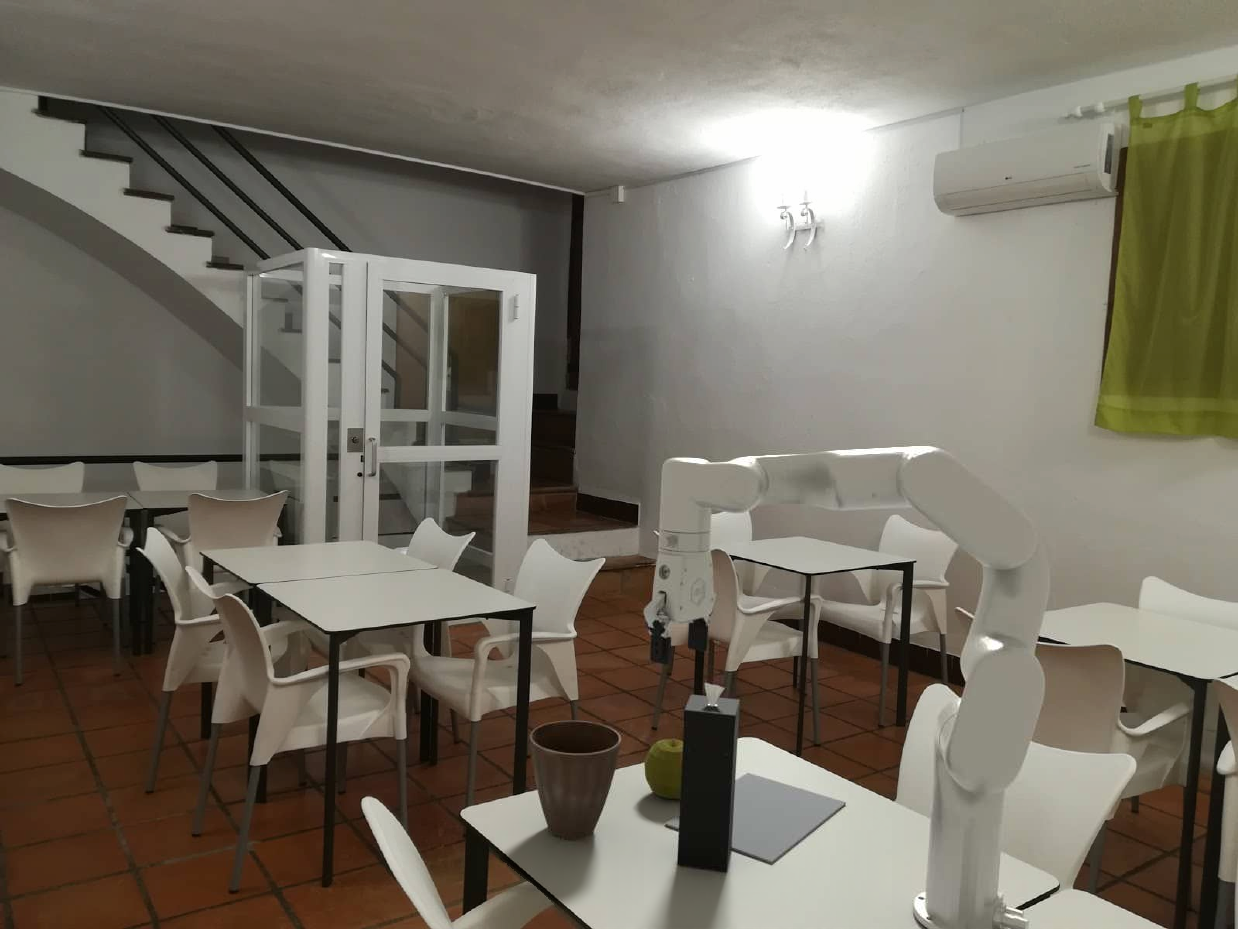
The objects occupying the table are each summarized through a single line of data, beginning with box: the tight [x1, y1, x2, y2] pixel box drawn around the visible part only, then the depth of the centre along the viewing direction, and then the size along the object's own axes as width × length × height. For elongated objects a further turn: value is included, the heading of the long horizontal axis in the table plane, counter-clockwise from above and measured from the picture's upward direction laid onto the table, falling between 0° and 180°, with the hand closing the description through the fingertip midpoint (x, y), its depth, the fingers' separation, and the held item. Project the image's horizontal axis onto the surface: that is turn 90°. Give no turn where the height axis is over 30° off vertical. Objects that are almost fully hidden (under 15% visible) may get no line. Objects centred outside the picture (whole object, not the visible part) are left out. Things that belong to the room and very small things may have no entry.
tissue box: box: [676, 682, 741, 873], centre depth 150 cm, size 8×8×28 cm
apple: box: [643, 736, 683, 800], centre depth 174 cm, size 10×10×11 cm
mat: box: [664, 772, 847, 865], centre depth 168 cm, size 20×29×1 cm
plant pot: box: [529, 720, 622, 841], centre depth 158 cm, size 15×15×16 cm
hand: (679, 656), depth 143 cm, fingers open, 9 cm apart
